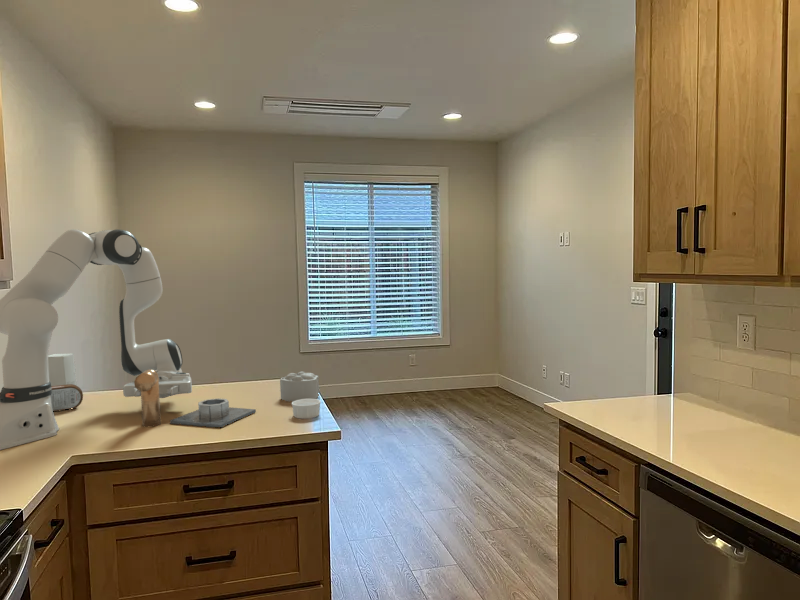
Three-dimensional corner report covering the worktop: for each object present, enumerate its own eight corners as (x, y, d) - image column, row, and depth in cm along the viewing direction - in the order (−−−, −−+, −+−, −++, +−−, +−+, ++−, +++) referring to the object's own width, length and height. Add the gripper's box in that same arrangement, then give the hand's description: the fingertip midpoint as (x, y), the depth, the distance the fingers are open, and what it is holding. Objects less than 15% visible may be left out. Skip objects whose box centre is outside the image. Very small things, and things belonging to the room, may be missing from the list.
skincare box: (78, 394, 217) (75, 353, 216) (66, 399, 211) (63, 356, 210) (56, 394, 218) (54, 353, 217) (44, 399, 212) (41, 356, 211)
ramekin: (315, 420, 176) (314, 405, 176) (287, 419, 178) (287, 405, 178) (324, 412, 185) (324, 398, 185) (298, 411, 187) (297, 398, 187)
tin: (83, 406, 199) (82, 382, 199) (84, 408, 197) (82, 383, 196) (31, 413, 191) (29, 388, 191) (31, 415, 189) (29, 389, 188)
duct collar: (220, 428, 169) (220, 411, 169) (170, 423, 175) (169, 407, 175) (255, 412, 186) (255, 396, 186) (208, 408, 192) (207, 393, 192)
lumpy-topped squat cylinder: (315, 401, 199) (314, 376, 199) (277, 402, 200) (276, 377, 199) (320, 394, 210) (319, 370, 209) (284, 395, 210) (283, 371, 209)
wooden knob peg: (144, 422, 177) (141, 368, 176) (162, 421, 178) (159, 367, 177) (136, 431, 168) (133, 374, 167) (155, 430, 169) (152, 373, 167)
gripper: (128, 376, 190) (116, 384, 177) (194, 372, 194) (187, 380, 181) (129, 395, 191) (117, 405, 177) (195, 391, 195) (188, 401, 181)
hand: (153, 393), depth 179 cm, fingers open, 8 cm apart
